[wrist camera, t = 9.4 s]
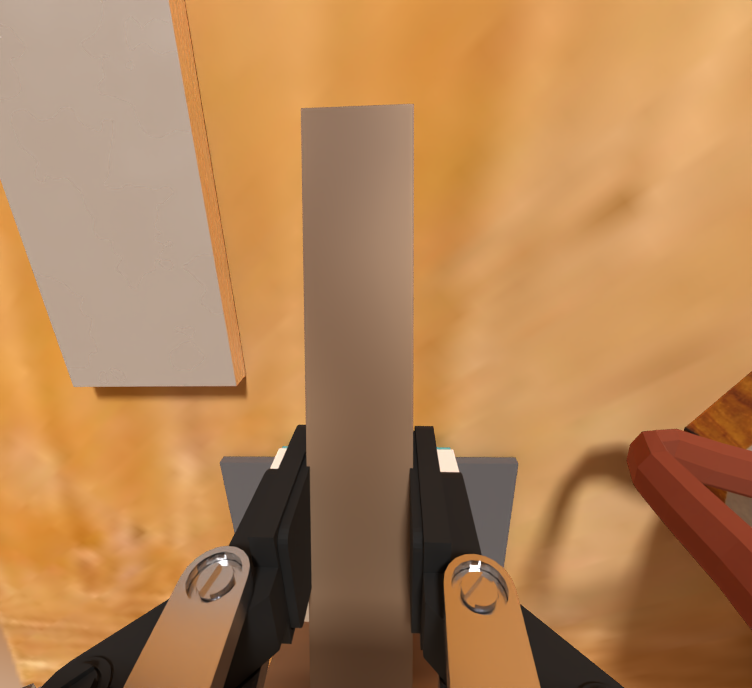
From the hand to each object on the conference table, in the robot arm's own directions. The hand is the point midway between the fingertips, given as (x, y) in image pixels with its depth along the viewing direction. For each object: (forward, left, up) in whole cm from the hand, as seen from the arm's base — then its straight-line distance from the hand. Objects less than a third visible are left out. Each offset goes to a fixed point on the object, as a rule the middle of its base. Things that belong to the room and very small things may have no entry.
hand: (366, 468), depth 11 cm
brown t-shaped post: (0, 0, -2) cm, 2 cm away
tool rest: (+11, -10, -7) cm, 16 cm away
